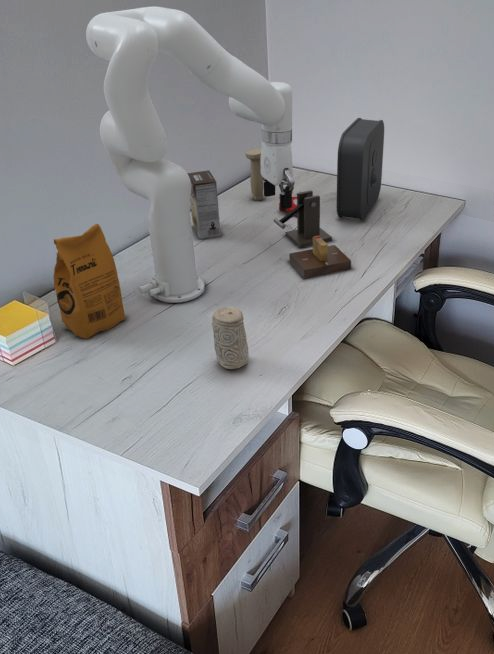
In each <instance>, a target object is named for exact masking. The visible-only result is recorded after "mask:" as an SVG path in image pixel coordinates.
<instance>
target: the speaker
mask: <svg viewBox="0 0 494 654" xmlns="http://www.w3.org/2000/svg"><path fill="white" fill-rule="evenodd" d="M384 144H385V123H384V120H383V119H379V120H374V119H365V118H364V119H363V118H362V117H357V118H356V119H355V120H354V121H353V122H352V123H351V124H350V125H349V126H347V127H346V129H345V130H344V131H342V133H341V135H340V139H339V142H338V148H337V160H336V161H337V162H336V164H337V167H336V169H337V170H336V215H337V217H338V218H340V219H343V218H347V219H348V218H349V219H355V220H356V219H357V220H360V221H365V220H366V218H367V217H368V216H369V214H370V212H371V211H372V209H373V208H374V206H375V205H376V203H377V202H378V199H379V197H380V193H381V188H382V179H383V159H384V147H385V145H384Z"/></svg>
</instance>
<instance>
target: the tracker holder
mask: <svg viewBox="0 0 494 654" xmlns="http://www.w3.org/2000/svg"><path fill="white" fill-rule="evenodd" d="M300 192H302V191H300V190H299V191H298V193H300ZM296 207H297V196H292V207H291V208H287V209H280V202H279V203H278V209H279V211H282V212H284V211H287V212H288V213H289V212H291V211H292V210H293V209H294V208H296ZM294 216H297V214H295V215H294Z"/></svg>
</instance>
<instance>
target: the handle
mask: <svg viewBox="0 0 494 654" xmlns="http://www.w3.org/2000/svg"><path fill="white" fill-rule="evenodd" d="M245 157H246V159H248V160H250V190H251V194H252V195H251V196H252V200H254V201H261V200H263V197H264V181H263V177H262V175H261V147H256V148H251V149H248V150H247V151H245Z"/></svg>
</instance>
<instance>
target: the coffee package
mask: <svg viewBox="0 0 494 654" xmlns="http://www.w3.org/2000/svg"><path fill="white" fill-rule="evenodd" d="M53 245H55V248H56V250H57V252H56V259H55V260H56V262H55V265H54V269H53V276H52V277H53V286H54V291H55V295H56V301H57V305H58V308H59V314H60V317H61V322H62V323H63V324H64V327H65V328H66V329H67V330H70V331H71V332H72V333H73V334H74V335H75V336H76V337H78V338H81V339H85V340H87V339H89V338H91V337H93V336H94V335H96V334H97V333H99V332H102V331H109V330H111V329H113V328H114V327H115V326H117V325H118V324H119V323H121V322H122V321H124V320H126V313H125V308H124V302H123V295H122V289H121V284H120V280H119V276H118V268H117V266H116V262H115V258H114V255H113V253H112V251H111V248H110V247H109V245H108V243H107V240H106V237H105V234H104V231H103V229H102V227H101V225H99V224H98V223H94V224H93V225H91V226H90V227H89V228H88V229H87V230H86V231H85V232H83V234H81V235H75V236H68V237H61V238H53Z"/></svg>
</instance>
